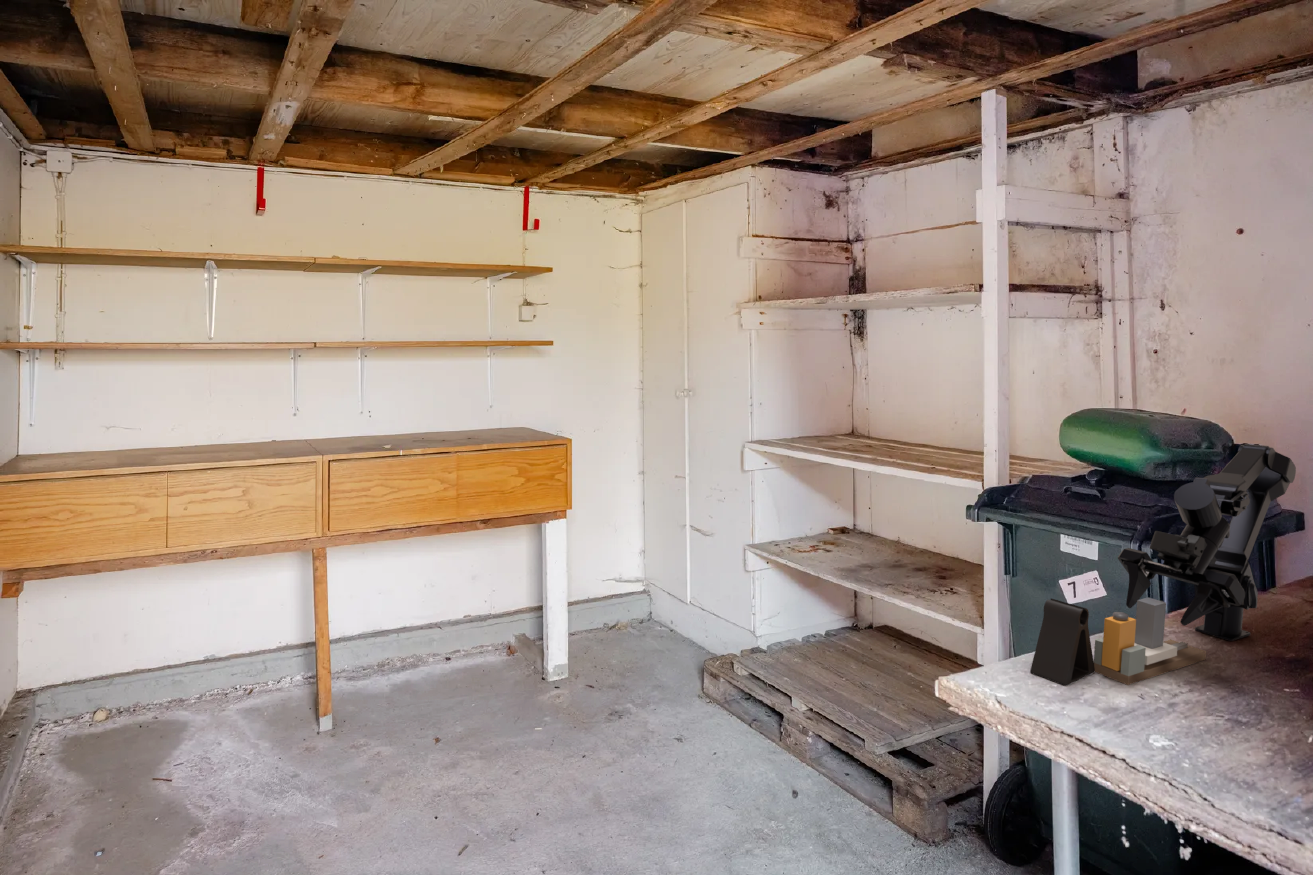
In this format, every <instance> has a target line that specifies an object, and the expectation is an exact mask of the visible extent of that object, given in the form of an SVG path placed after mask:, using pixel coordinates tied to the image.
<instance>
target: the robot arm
mask: <svg viewBox="0 0 1313 875" xmlns="http://www.w3.org/2000/svg"><path fill="white" fill-rule="evenodd" d="M1296 469H1297V468H1296V465H1295V463H1294V461H1293V460H1292V459H1291V458H1290V457H1288V456H1286V455H1284V454H1282V453H1280V452H1277V451H1276V449H1274V447H1270V446H1269V445H1260V444H1250V443H1245V444H1240V445H1239V446H1238V450H1237V452H1236V454H1235V456H1233V458H1232V459H1231V460H1230V461H1229V462H1228V463H1227V464H1226V465H1225V467H1224V468H1223V469H1222V470H1221V471H1220V472H1219V473H1217V474H1211V475H1206V476H1205V477H1194V479H1193V482H1189V483H1185V484H1183V485H1181V486H1180V487H1178V489H1176V490H1175V491H1174V494H1173V498H1174V499H1173V500H1174V502H1175V505H1176V507H1177V510H1178V512H1179V515H1180V517H1181V519H1182V522H1184V523H1185V524H1186V525H1185V527H1184V529H1183V530H1182V532H1181V534H1177V533H1175V534H1171V533H1167V532H1162V531H1158V530H1155V531H1154V534H1153V536H1152V539H1151V542H1150V545H1149V549H1150V550H1152V551H1153V550H1154V551H1156V552H1158V554H1157V557H1158V558H1159V560H1161V561H1163V563H1160V562H1156V561H1153V559H1152V558H1151V557H1150V555H1149V554H1148V552H1147V551H1143V550H1138V549H1134V548H1131V547H1127V548H1123V550H1121V552H1120V553H1119V555H1118V556H1117V560H1118V561H1119V563H1120V564H1121V565H1122V566H1123V568H1124V569H1125V571H1126V572H1127V574H1128V589H1127V594H1126V603H1125V605H1126V607H1127V608H1128V609H1132V608H1133V607H1134V606H1135V605H1137V600H1140V599H1142V597H1143V595H1144V594H1145V592H1146V591H1147V590H1148V589H1149V588H1150V586H1151V585H1152V583H1151V581H1150V580H1153V579H1154V578H1155V577H1156V575H1159V576H1163V577H1165V578H1170V579H1174V580H1177V581H1181V582H1184V583H1188V584H1192V585H1193V587H1194V597H1193V599H1192V600H1191V602H1190V604H1188V607H1187V608H1186V609H1185V612H1184V613H1183V615H1182V616H1181V617H1182V618H1181V619H1180V624H1181V625H1182V626H1185V627H1186V626H1188V625H1189V624H1191V623H1193V622H1194V621H1196V620H1199V619H1200V618H1202V617H1203V616H1204V617H1203V618H1204V619H1203V624H1201V625H1197V626H1195V627H1194V630H1195V631H1197V632H1200V633H1204V634H1206V635H1208V636H1209V635H1210V636H1213V637H1215V638H1216V637H1217V638H1218V639H1219V638H1220V639H1222V640H1225V641H1229V642H1233V641H1237V640H1241V639H1243V638H1245V637H1249V636H1251V632H1250V631H1247V630H1243V619H1244V610H1249V609H1257V608H1258V599H1259V598H1258V595H1259V593H1258V589H1257V587H1256V586H1257V585H1256V583H1255V581H1254V576H1253V573H1252V569H1251V566H1250V562H1249V559H1250V556H1251V553H1252V551H1253V548H1254V545H1255V543H1256V541H1257V539H1258V538H1257V537H1258V535H1259V534H1260V530H1261V528H1262V525H1263V522H1264V520H1265V517H1266V514H1267V512H1268V509H1269V507H1270V504H1271V502H1273V501H1275V500H1276V499H1278V498H1281V496H1283V495H1285V494H1286V492H1287V490H1288V488H1289V486H1290V484H1292V483H1294V481H1295V478H1296V473H1297V470H1296ZM1224 516H1230V517H1231V519H1230V521H1228V520H1227V518H1226V517H1224Z"/></svg>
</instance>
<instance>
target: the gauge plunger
mask: <svg viewBox="0 0 1313 875" xmlns="http://www.w3.org/2000/svg"><path fill="white" fill-rule="evenodd" d="M1135 629H1136V618H1133V617H1129V614H1128V613H1125V612H1123V611H1122V612H1121V611H1114V612H1113V613H1112V615H1111V616H1109V617H1105V618H1104V625H1103V637H1102V638H1103V651H1102V665H1103V666H1106V667H1108V668H1111V669H1113V670H1116V671H1119V670H1121V661H1122V650H1123V649H1126V648H1129V647H1133V646H1134V643H1135Z"/></svg>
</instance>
